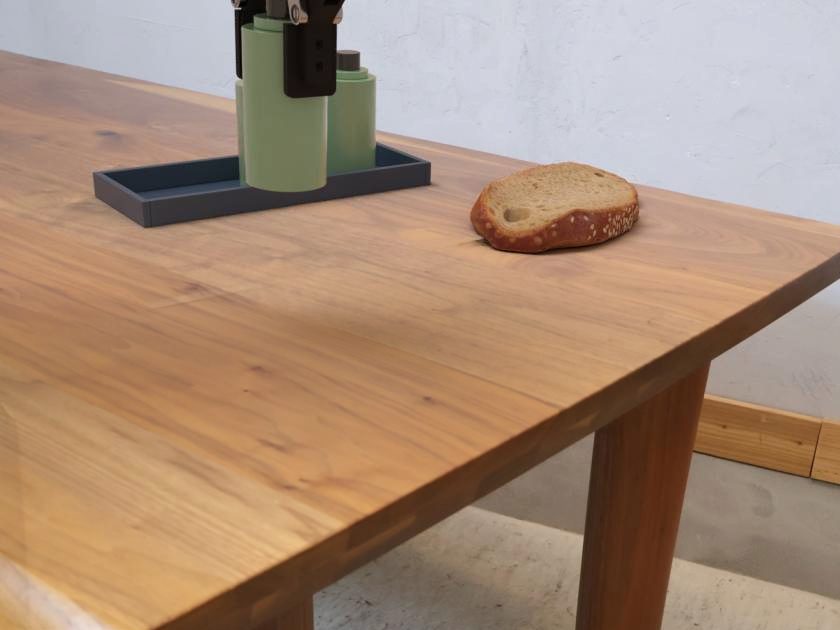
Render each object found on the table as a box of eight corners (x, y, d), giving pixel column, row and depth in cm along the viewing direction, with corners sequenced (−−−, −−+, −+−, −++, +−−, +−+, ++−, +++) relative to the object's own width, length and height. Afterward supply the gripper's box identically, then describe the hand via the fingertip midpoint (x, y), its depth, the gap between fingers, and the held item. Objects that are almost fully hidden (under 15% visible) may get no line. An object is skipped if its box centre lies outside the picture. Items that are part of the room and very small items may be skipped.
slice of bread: (601, 184, 108) (605, 144, 106) (700, 241, 93) (707, 196, 91) (420, 195, 102) (421, 152, 101) (495, 258, 87) (498, 209, 86)
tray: (145, 235, 89) (142, 202, 88) (95, 203, 96) (92, 172, 95) (430, 191, 104) (431, 162, 103) (369, 166, 111) (369, 138, 110)
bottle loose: (269, 195, 68) (266, -4, 63) (230, 176, 71) (225, -14, 66) (342, 187, 71) (344, -5, 66) (301, 168, 74) (300, -15, 69)
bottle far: (338, 188, 101) (337, 58, 96) (309, 175, 104) (307, 49, 99) (386, 181, 104) (387, 54, 99) (356, 169, 107) (356, 45, 102)
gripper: (147, -274, 64) (165, 66, 72) (302, -289, 52) (302, 120, 60) (267, -260, 68) (271, 61, 76) (436, -271, 56) (419, 110, 64)
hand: (285, 83), depth 68 cm, fingers closed on bottle loose, 5 cm apart
